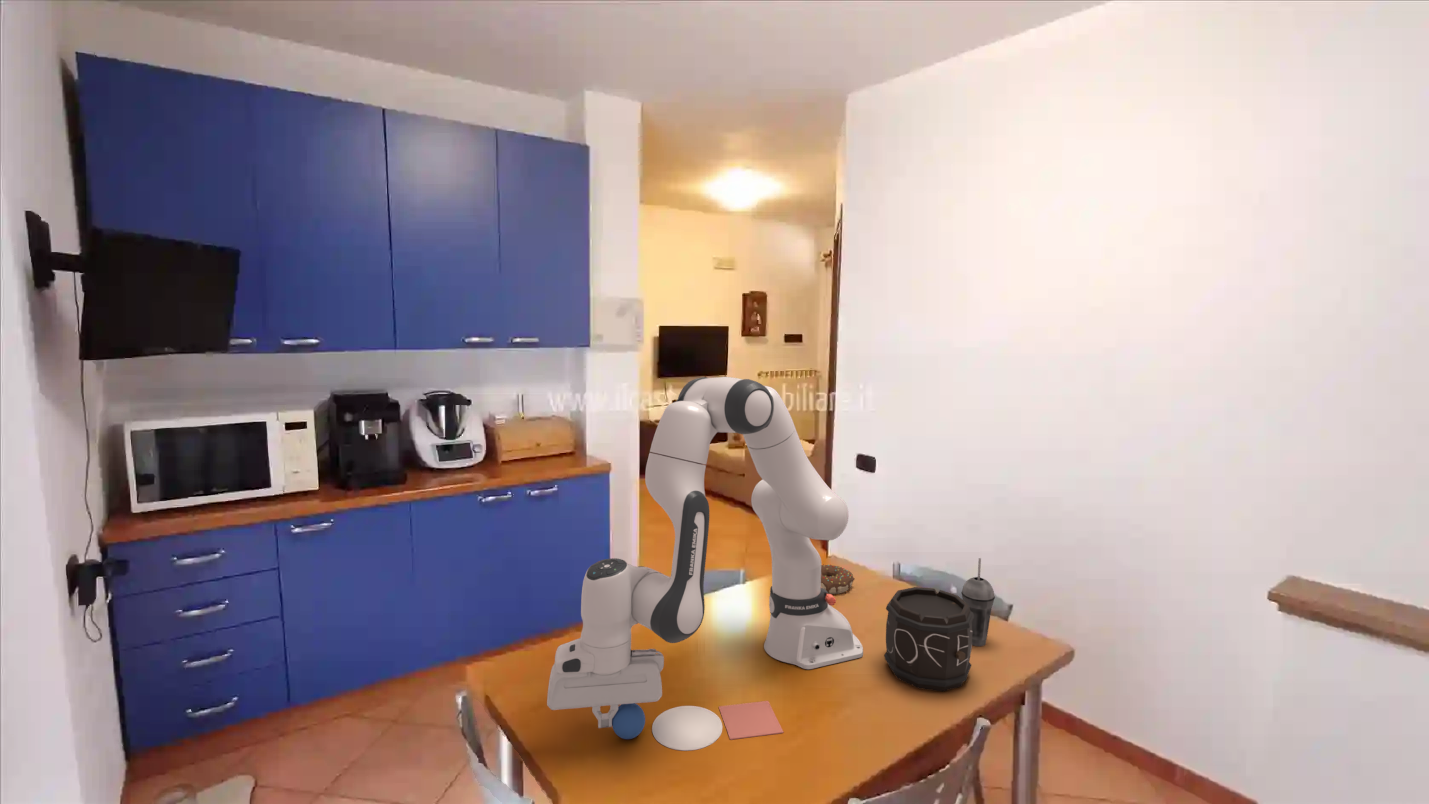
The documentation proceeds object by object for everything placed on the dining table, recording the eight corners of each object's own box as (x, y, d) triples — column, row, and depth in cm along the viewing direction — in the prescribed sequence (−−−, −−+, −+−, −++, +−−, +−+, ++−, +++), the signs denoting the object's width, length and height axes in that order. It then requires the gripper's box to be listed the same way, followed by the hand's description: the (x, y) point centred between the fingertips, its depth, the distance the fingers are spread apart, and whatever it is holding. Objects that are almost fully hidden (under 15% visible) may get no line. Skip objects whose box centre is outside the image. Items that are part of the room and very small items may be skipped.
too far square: (768, 701, 127) (768, 700, 127) (783, 733, 117) (783, 732, 117) (718, 707, 125) (718, 706, 125) (730, 739, 115) (730, 738, 115)
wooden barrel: (924, 704, 126) (927, 628, 124) (868, 660, 143) (870, 593, 141) (992, 684, 133) (996, 612, 132) (931, 644, 150) (934, 580, 148)
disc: (714, 703, 126) (714, 702, 126) (729, 745, 113) (729, 744, 113) (648, 710, 124) (648, 710, 124) (656, 755, 111) (656, 753, 111)
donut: (844, 601, 174) (844, 583, 173) (797, 590, 181) (797, 573, 180) (860, 583, 186) (860, 566, 185) (815, 573, 193) (816, 557, 192)
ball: (623, 731, 119) (648, 709, 120) (627, 753, 113) (654, 730, 114) (603, 711, 117) (629, 689, 118) (606, 732, 112) (633, 709, 112)
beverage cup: (958, 645, 149) (962, 563, 147) (959, 631, 156) (963, 552, 154) (992, 651, 147) (997, 567, 144) (991, 637, 153) (996, 557, 151)
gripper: (662, 640, 119) (660, 710, 120) (548, 647, 115) (548, 720, 116) (666, 656, 113) (664, 731, 114) (546, 665, 109) (546, 741, 110)
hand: (604, 725), depth 115 cm, fingers closed
